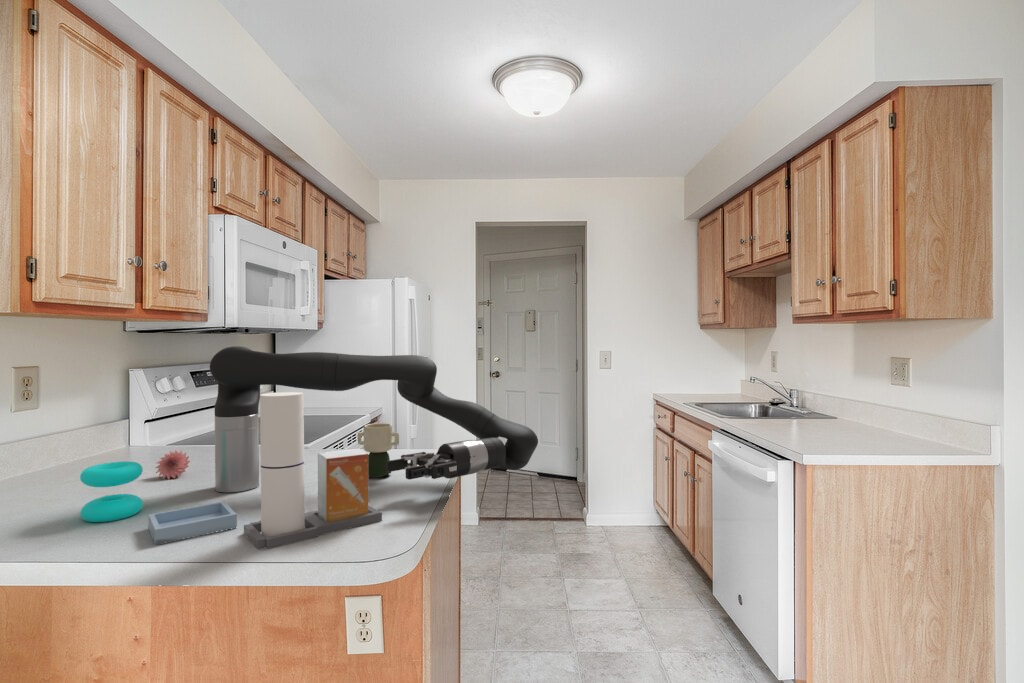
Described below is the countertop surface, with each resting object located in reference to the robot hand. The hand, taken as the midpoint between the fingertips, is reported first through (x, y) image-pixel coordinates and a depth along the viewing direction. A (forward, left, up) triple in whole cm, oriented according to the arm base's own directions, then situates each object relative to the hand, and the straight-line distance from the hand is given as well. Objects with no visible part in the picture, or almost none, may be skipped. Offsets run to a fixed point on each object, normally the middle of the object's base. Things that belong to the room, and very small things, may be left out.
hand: (396, 470), depth 111 cm
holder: (0, -17, -8) cm, 18 cm away
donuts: (-33, -45, -8) cm, 57 cm away
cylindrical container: (0, -22, -8) cm, 24 cm away
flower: (-61, -31, -8) cm, 69 cm away
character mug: (-27, +9, -8) cm, 30 cm away
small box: (0, -11, -8) cm, 14 cm away
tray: (-14, -34, -8) cm, 38 cm away
